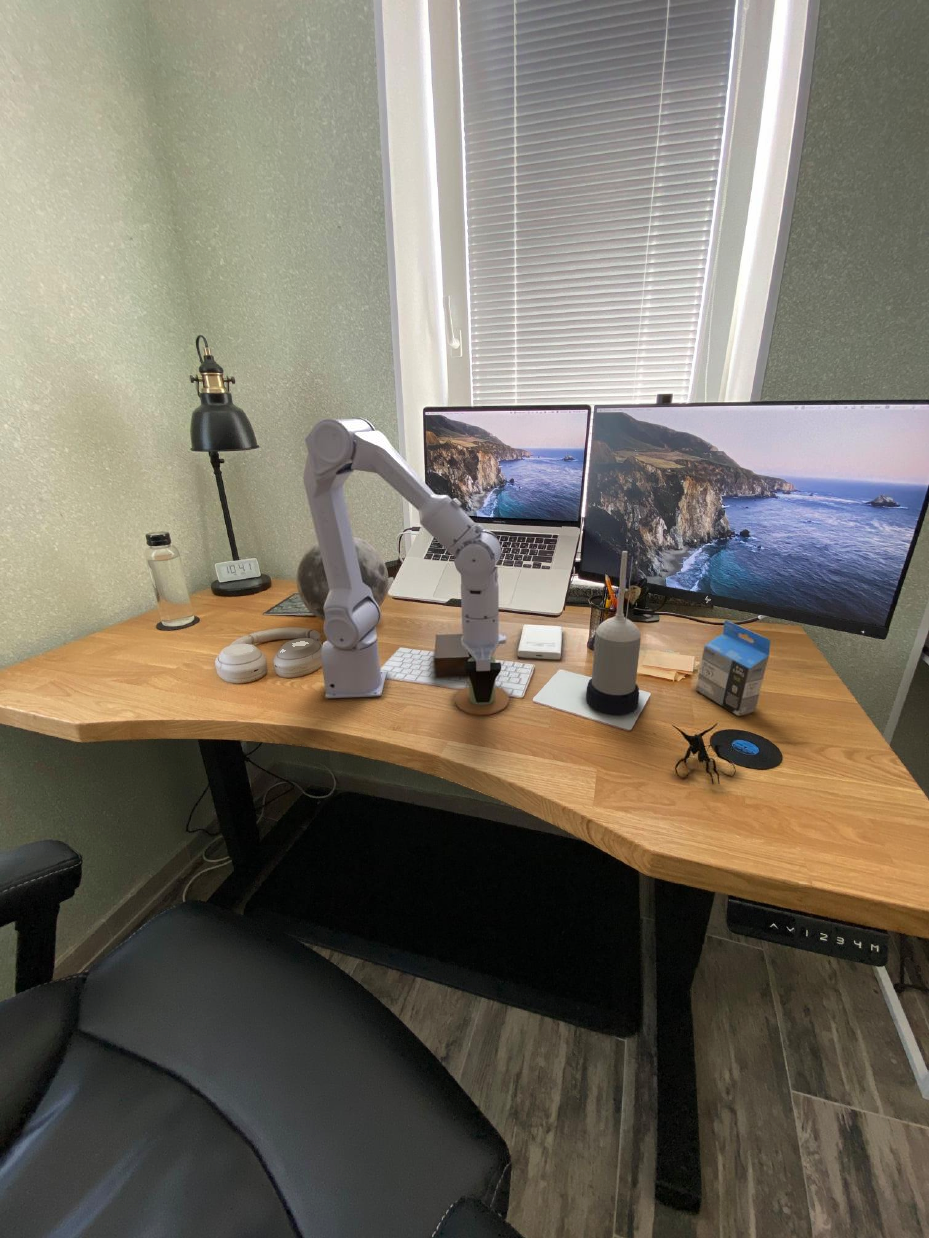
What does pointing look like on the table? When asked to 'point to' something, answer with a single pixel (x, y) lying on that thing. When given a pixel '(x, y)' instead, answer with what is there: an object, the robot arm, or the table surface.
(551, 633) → the hard drive
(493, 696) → the sage green cylinder
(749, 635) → the label tape box
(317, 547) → the moon model
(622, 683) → the humidifier
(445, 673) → the stand
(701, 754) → the creature
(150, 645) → the table surface
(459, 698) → the coaster
